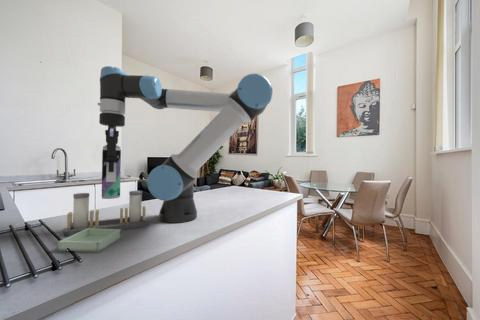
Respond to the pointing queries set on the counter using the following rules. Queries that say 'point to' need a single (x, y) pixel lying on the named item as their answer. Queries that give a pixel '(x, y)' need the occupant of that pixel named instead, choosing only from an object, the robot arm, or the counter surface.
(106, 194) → the spray can
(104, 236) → the tray
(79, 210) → the fuse
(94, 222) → the fuse frame
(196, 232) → the counter surface
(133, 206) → the fuse
